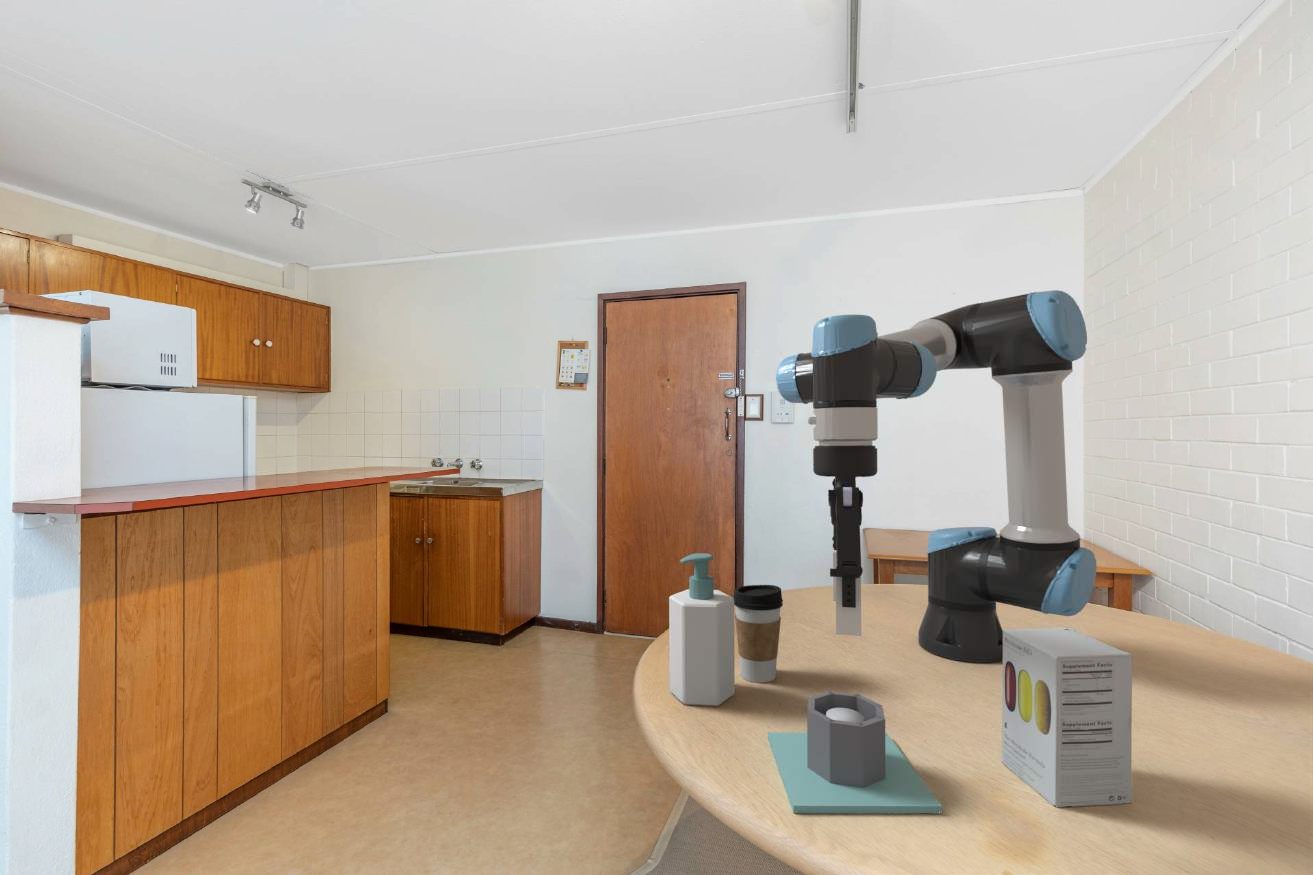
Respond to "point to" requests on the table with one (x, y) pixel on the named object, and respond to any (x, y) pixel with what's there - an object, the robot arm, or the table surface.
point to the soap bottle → (701, 639)
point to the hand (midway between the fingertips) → (845, 616)
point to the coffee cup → (758, 630)
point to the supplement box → (1067, 716)
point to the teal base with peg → (819, 796)
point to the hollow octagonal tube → (846, 740)
